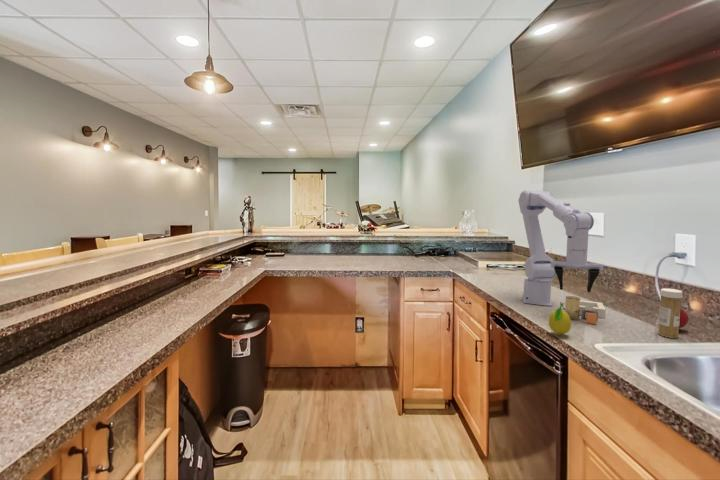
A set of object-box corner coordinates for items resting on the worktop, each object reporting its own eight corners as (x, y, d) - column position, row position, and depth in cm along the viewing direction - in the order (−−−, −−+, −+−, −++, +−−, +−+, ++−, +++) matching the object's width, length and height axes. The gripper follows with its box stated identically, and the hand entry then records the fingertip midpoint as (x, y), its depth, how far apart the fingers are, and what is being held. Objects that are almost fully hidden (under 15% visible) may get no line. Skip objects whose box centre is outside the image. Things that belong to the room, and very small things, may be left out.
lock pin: (586, 323, 105) (586, 313, 105) (584, 316, 111) (584, 308, 111) (596, 324, 104) (596, 315, 104) (593, 317, 110) (594, 309, 110)
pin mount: (581, 318, 110) (582, 310, 110) (581, 316, 112) (581, 308, 111) (597, 320, 108) (598, 312, 108) (597, 318, 109) (597, 310, 109)
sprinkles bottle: (682, 339, 92) (686, 292, 91) (662, 337, 93) (666, 291, 92) (672, 333, 96) (676, 288, 95) (653, 331, 98) (657, 287, 96)
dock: (572, 314, 114) (573, 305, 114) (571, 307, 122) (572, 299, 122) (605, 318, 110) (605, 309, 110) (601, 311, 118) (602, 302, 117)
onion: (690, 334, 95) (692, 307, 95) (663, 330, 98) (665, 304, 98) (684, 328, 100) (686, 302, 100) (658, 324, 103) (661, 300, 103)
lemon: (562, 330, 100) (563, 298, 99) (577, 338, 94) (579, 303, 93) (541, 331, 99) (543, 299, 98) (555, 339, 93) (557, 304, 92)
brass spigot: (565, 318, 110) (566, 298, 109) (564, 315, 113) (565, 295, 113) (579, 320, 108) (580, 299, 107) (578, 317, 111) (579, 296, 111)
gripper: (551, 250, 109) (549, 290, 110) (606, 252, 102) (603, 295, 103) (551, 247, 115) (549, 286, 116) (602, 249, 108) (600, 290, 109)
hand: (574, 290), depth 110 cm, fingers open, 7 cm apart
